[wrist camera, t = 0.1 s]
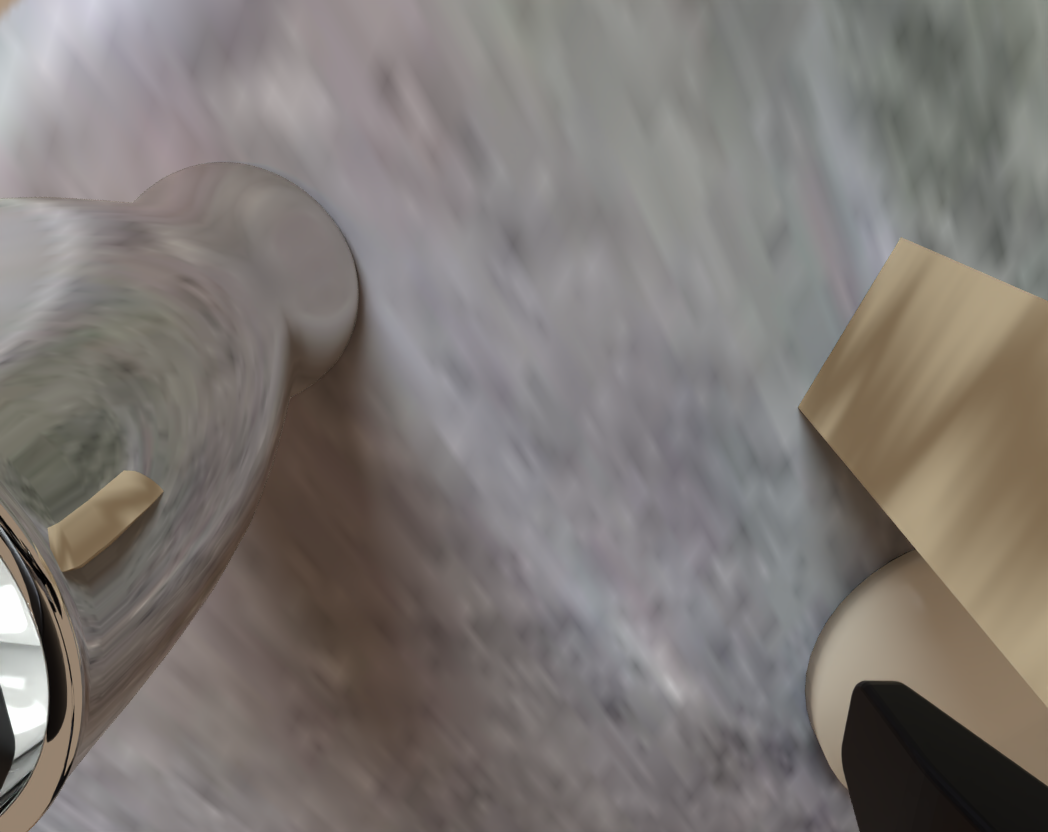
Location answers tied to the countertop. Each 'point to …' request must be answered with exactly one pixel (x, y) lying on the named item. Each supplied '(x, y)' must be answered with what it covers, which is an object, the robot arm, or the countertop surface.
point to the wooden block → (953, 435)
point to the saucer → (922, 664)
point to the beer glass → (141, 429)
